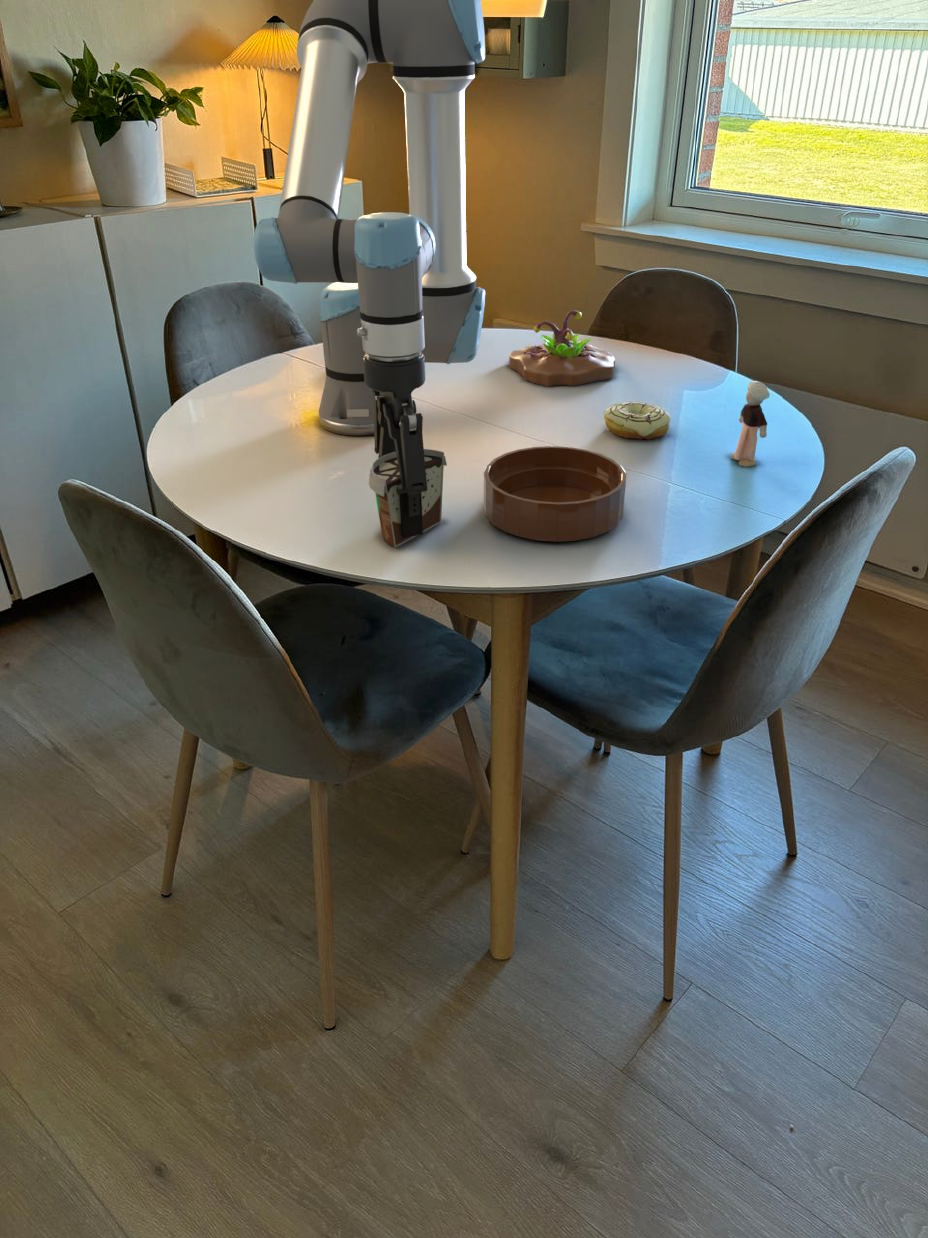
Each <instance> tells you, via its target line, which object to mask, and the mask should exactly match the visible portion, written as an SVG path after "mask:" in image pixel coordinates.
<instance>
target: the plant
mask: <svg viewBox="0 0 928 1238" xmlns="http://www.w3.org/2000/svg"><path fill="white" fill-rule="evenodd" d="M572 315H573V318H574V319H575V320H580V319H581V318H582V312H580V310H576V309H575V310H574V309H572V310H569V312H568V313H567V314H566V315H565V317H564V320H563V321H562V327H561V329H559V328H558V327H557V326H556V324H554V323H552V322H550V321H547V320H546V321H545V320H544V321H542V322H540V323H537V324H536V325H535V326H534V327H533V332H535V333H539V332H540V331H541V329H542V326H548V327H550V328H551V331H552V332H553V333H552V335H551V336H552V338H551V337H550V336H548V335H545V334H541V335H540V338H542V340H543V341H544V343H542V345H541V344H538V345H536V344H535V345H532V346H525V347H523V348H522V349H519V350H513V351H511V352H510V353H509V356H508V358H509V360H508V366H509V367H510V368H511V369H512V370H514V371H516V372H517V373H519V374H520V375H521V376H522V378H523V380H524V381H527V382H529V383H532V384H536V385H540V386H545V387H548V388H549V387H553V386H569V387H571V386H572V387H573V386H579V385H584V384H589V383H594V382H599V381H605V380H610V379H613V376H614V372H615V369H616V368H615V367H616V359H615V357H614V356H613V355H612V354H611V353H610V352H609V351H608V350H605V349H600V348H598V347H596V346H594V345H592V344H589V342H590V341H591V340H592V339H591V338H585V339H582V340H580V341H579V342H578V340H579V337H580V335H579V333H576V334H574V333H573V331H572V329H571V328H568V325H569V320H570V317H571V316H572Z"/></svg>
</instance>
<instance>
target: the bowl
mask: <svg viewBox="0 0 928 1238" xmlns="http://www.w3.org/2000/svg"><path fill="white" fill-rule="evenodd" d="M626 485H627V472H626V471H625V469H624V467H623V466H622V465H621V464H620V463H619V462H617V461H616V460H615V459H613V458H611V457H609V456H607V455H605V454H602V453H599V452H596V451H592V450H588V449H585V448H578V447H572V446H558V445H557V446H556V445H545V446H532V447H525V448H519V449H516V450H512V451H509V452H505V453H502V454H501V455H499V456H497V457H495V458H493V459H492V460H490V462H489V463H488V464H487V465H486V466H485V469H484V472H483V510H484V515H485V517H486V519H488V521H489V522H490V523H491V524H492V525H493V526H495V527H497V528H498V529H500V530H502V531H503V532H505V533H508V534H510V535H513V536H516V537H518V538H524V539H528V540H534V541H541V542H553V543H555V542H557V543H558V542H559V543H560V542H575V541H580V540H585V539H589V538H590V539H591V538H594V537H597V536H600V535H603V534H605V533H608V532H609V531H611V530H612V529H614V528H615V527H617V526H618V525H619V524H620V522H621V520H623V518H624V510H625V509H624V508H625V498H626Z"/></svg>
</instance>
